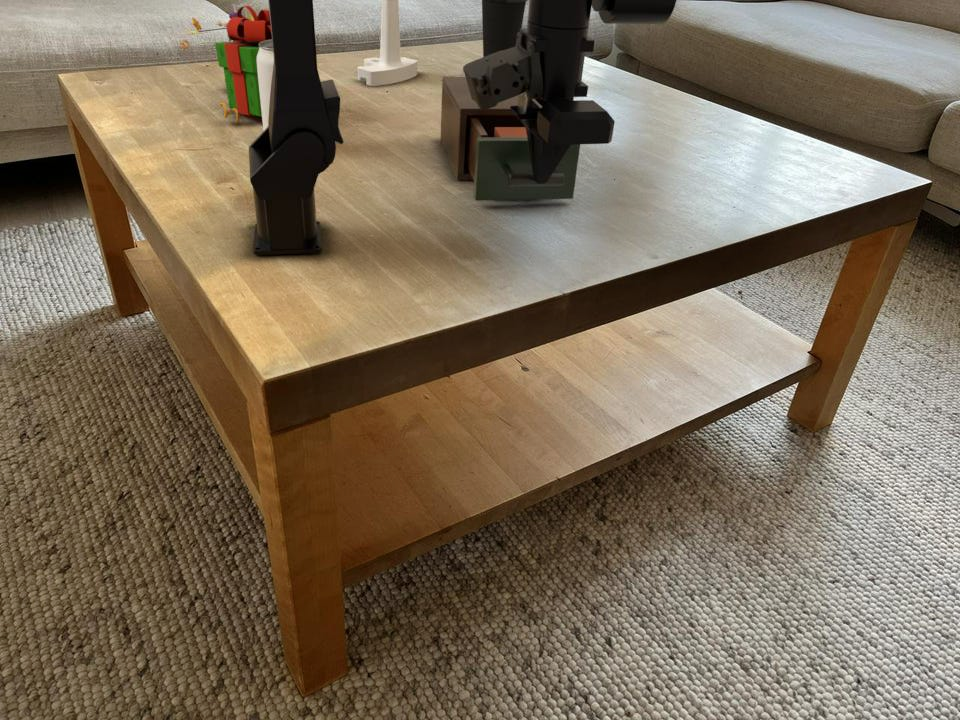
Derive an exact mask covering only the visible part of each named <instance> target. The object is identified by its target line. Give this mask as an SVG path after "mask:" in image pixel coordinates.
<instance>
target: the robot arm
mask: <svg viewBox="0 0 960 720" xmlns="http://www.w3.org/2000/svg"><path fill="white" fill-rule="evenodd" d="M528 1H529V2H528V11H527V22H526V28H524V27H522V28H520V33H517V38H516V46H515V47H512V48H509V49H507V50H502V51H498V52H496V53H493V54H490V55H488V56H485V57H483V56H482V57H480V58H477V59H475V60H473V61H470V62H467V63H466V64H464V65H463V66H462V70H463V73H464V77H466V80H467V84H468V87H469V91H470V94H471V98H472V100H474V101H475V102H476V103H477V105H478V107H479V108H480V109H489V108H492V107H495V106H496V105H497V103H499V102H502V101H505V100H507V99H510V98H512V97H515V96H517V95H519V97H518V106H510V109H511V111H512V112H513V113H514V114H515V115H516V116H517V117H518V119H519V120H520V121H521V122H522V123H523V124H524V126H525V128H526V133H527V138H528V144H529V150H530V157H531V163H532V170H533V176H534V181H535V182H536V183H537V184H546V183H547V181H548V180H549V178H550V177H551V175H552V174H553V172H554V170H555V169H556V167H557V166H558V164H559V163H560V161H561V160H562V158H563V156H564V155H565V154H566V152H567V151H568V149H569V148H570V146H571V145H577V144H580V145H607V144H610V143H612V140H613V135H614V128H615V121H616V120H614V118H613V116H611V114H609V112H608V111H607V110H606V109H605V108H604V107H602V106H601V105H600V104H599V103H597V102H596V101H594V100H593V99H592V100H591V99H586V100H584V99H583V100H582V99H581V100H575V98H588V92H589V85H588V84H586V83H585V82H583V81H582V80H583V73H584V64H585V57H586V53H594V49H595V48H594V47H595V41H596V40H594V39H593V38H592V37H590V36H588V35H589V27H590V20H591V13H592V9H593V11H594V12H597V13H598V16H599V18H600V20H601V22H602V23H604V24H609V25H610V24H614V25H664V24H665V23H667V22H668V20H669V19H670V17H671V16H672V14H673V12H674V9H675V7H676V3H677V0H528ZM267 3H268V10H269V13H270V23H271V34H272V44H273V54H274V65H273V74H272V82H271V91H270V104H269V118H268V127H267V128H266V129H265V130H264V131H262V132H261V133H260V134H259V136H257V138H255V139H254V141H253V142H252V143H250V145H249V146H248V163H249V165H248V166H249V181H250V185H251V186H252V194H253V199H254V200H253V203H254V210H255V220H256V223H255V224H254V235H253V244H252V254H253V255H255V256H267V255H271V256H273V255H300V254H303V255H305V254H321V253H322V252H323V241H322V240H323V239H322V223H321V221H319V220H317V214H316V213H317V211H316V210H317V209H316V195H315V194H316V193H315V188H316V187H315V186H316V183H317V180H318V178H319V175H320V174H321V173H323V172H325V171H326V170H327V169H328V168H329V167H330V166H331V165H332V164H333V163H334V161H335V158H336V154H337V153H336V152H337V144H340V145H343V144H344V139H343V136H342V133H341V130H340V127H339V118H340V110H341V97H340V94H339V91H338V88H337V86H336V84H335V81H334V79H326V80H321V78H320V74H319V69H318V61H317V60H318V58H317V44H316V29H315V14H314V13H315V12H314V0H267ZM336 143H337V144H336Z"/></svg>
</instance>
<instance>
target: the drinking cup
mask: <svg viewBox="0 0 960 720" xmlns="http://www.w3.org/2000/svg"><path fill="white" fill-rule="evenodd" d="M528 1H529V0H481V16H482V17H481V19H482V20H481V21H482V23H481V24H482V58H483V57H485V56H488V55H490V54H493V53H496V52H498V51H502V50H507V49H509V48H512V47H515V46H516V38H517V33H520V28H523V23H524V22H523V21H524V17H525V11H526V4H527V2H528Z"/></svg>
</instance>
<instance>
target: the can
mask: <svg viewBox="0 0 960 720" xmlns="http://www.w3.org/2000/svg"><path fill="white" fill-rule="evenodd" d="M273 65H274V54H273V44H272V40H265V41H262V42H260V43H259V51H258V54H257V72H258V82H259V92H260V102H261V112H262V116H261V120H262V121H261V122H262V129H263V131H264V130H265V129H266V128H267V127H268V118H269V104H270V91H271V82H272V74H273ZM263 131H262V132H263Z"/></svg>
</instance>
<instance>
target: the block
mask: <svg viewBox="0 0 960 720" xmlns="http://www.w3.org/2000/svg"><path fill="white" fill-rule="evenodd" d="M494 137H527V133H526V128H525V127H495V131H494Z"/></svg>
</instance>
